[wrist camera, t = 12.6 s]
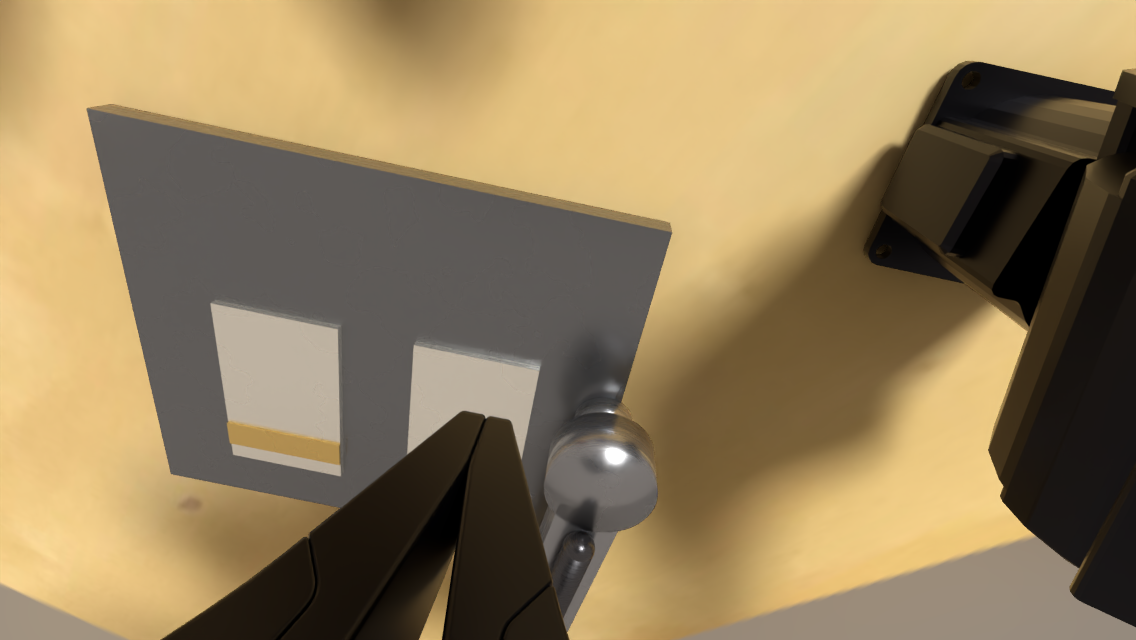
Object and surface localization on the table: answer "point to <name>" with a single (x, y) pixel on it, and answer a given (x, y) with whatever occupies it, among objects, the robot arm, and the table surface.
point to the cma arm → (593, 498)
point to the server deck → (359, 304)
